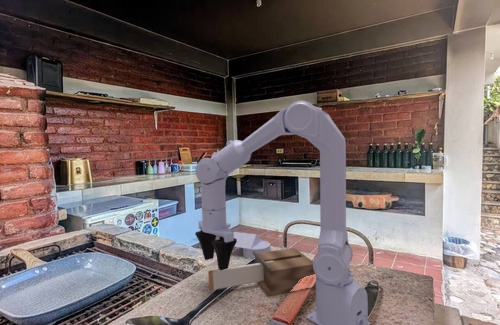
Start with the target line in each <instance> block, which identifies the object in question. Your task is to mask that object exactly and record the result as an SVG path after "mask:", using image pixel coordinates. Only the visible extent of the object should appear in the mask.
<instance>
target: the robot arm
mask: <svg viewBox="0 0 500 325" xmlns="http://www.w3.org/2000/svg"><path fill="white" fill-rule="evenodd" d="M287 135H288V136H290V135H297V136H299V137H301V138H303V139H305V140H308V142H309V143H311V144H312V145H313V146H314V147H315V148H317V149H318V151H319V185H320V186H319V194H320V196H319V198H320V199H319V200H320V204H319V205H320V207H319V208H320V209H319V210H320V215H319V218H320V219H319V220H320V222H319V225H320V226H319V227H320V231H319V235H318V236H319V237H318V241H317V252H316V255H315V257H314V259H313V260H312V261H313V269H314V272H315V274H316V287H315V310H314V311H312V312H311V313H309V314H308V315H306V319H307V320H309V321H310V322H312V323H314V324H316V325H370V324H371V322H370V321H368V320H369V316H368V314H369V312H368V311H369V310H368V309H369V306H368V304H369V303H368V301H369V299H368V292H367V290H366V289H365V287H363V286H361V285H360V284H359V283H358V282H356V281H355V280H354V274H353V273H352V271H351V269H350V264H351V261H352V260H353V256H354V254H353V249H352V247H351V245H350V243H349V234H348V231H347V166H346V165H347V142H346V138H345V136H344V135H343V133H342V132H341V130H340V129H339V128H338V126H337V125H336V123H335V122H334V120H332V117H331V116H330V114H328V113H327V112H326V111H324V110H323V109H321V108H319V107H317V106H315V105H313V104H312V103H310V102H307V101H304V100H298V101H295V102H293V103H291V104H290V105H289V106H288V107H287V108H286V107H285V108H283V109H281V110H280V111H278V112H277V113H276V115H274V116H273V117H272V118H270V119H269V120H268V121H267V122H265V123H264V124H263V125H262V126H260V127H259V128H258V129H257V130H255V131H254V132H252V133H251V134H250V135H249V136H247V137H246V138H245V139H244V140H239V139H235V140H229V141H227V142H226V146H224V147H223V148H222V149H220V150H219V151H215V152H213V153H212V154H211V157H210V158H208V157H207V158H206V157H203V158H201V159H200V161H198V163H197V164H196V166H195V176H196V178H197V180H198V181H199V182H200V192H201V194H200V195H201V216H202V217H201V220H199V221H198V229H199V231H198V230H197V231H195V233H194V235H195V237H196V238H197V239H198V242H199V245H200V247H201V250H202V255H203V258H204V260H205V261H209V260H212V259H214V257H215V254H216V262H217V263H216V264H217V266H218V269H219V270H224V269H228V268H229V266H230V262H231V261H230V260H231V256H232V252H233V250H234V248H235V247H234V246H235V244H236V243H237V239H235V238H234V231H232V230H231V229H230V228H231V223H229V222H227V208H226V207H227V205H226V201H227V200H226V181H227V178H228V177H229V175H230V174H232V173H233V172H235V171H236V170H237V169H240V168H241V167H242V166H243V165H245V164H247V163H248V162H249V161H250V160H251V157H252V154H253V152H255V151H257V150H258V149H260V148H262V147H264V146H265V145H267V144H268V143H270V142H271V141H273V140H275V139H277V138H278V137H280V136H287ZM217 237H218V239H216V238H217Z"/></svg>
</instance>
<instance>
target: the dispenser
mask: <svg viewBox="0 0 500 325" xmlns="http://www.w3.org/2000/svg"><path fill="white" fill-rule="evenodd" d="M253 255H254V256H255V260H254V264H255V263H261V264H262V265H263V266H264V281H260V282H256V283H257V285H258V286H259V287H260V289H261V290H262V291H263V292H264V293H265V295H266V296H267V298H269V297H273V296H278V295H284V294H288V293H291V292H290V291H291V290H292V289H293V287H294V286H295V285H296V284H297V283H298V281H299V280H300V279H302V278H304V277H306V276H310V275H313V274H315V272H314V269H313V261H314V260H311V259H310V258H309V257H307V256H306V255H304V254H303V253H302V252H301V251H299V250H297V249H296V248H294V247H292V248H284V249H278V250H270V252H263V253H256V252H255V251H253ZM268 261H272V262H268ZM314 288H315V289H316V283H315V285H314V287H313V288H312V289H314Z"/></svg>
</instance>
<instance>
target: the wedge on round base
mask: <svg viewBox="0 0 500 325" xmlns="http://www.w3.org/2000/svg"><path fill="white" fill-rule="evenodd" d="M233 233H234V238H235V239H237V243H236V244H235V246H234V248H242V255H244V256H245V257H247V258H246V259H248V258H250V259H249V260H252V259H254V258H255V256H254V255H253V251H255V252H256V253H263V252H270V251H271V243H270V242H269V241H267V240H263V239H262V238H260V237H259V236H258V235H257V234H256V233H247V232H239V231H233ZM244 256H243V257H244ZM245 257H244V258H245Z"/></svg>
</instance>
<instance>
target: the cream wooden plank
mask: <svg viewBox="0 0 500 325" xmlns="http://www.w3.org/2000/svg"><path fill="white" fill-rule="evenodd" d="M268 262H272V261H268ZM207 272H208V273H207V274H208V275H207V276H208V290H209V291H215V290H221V289H225V288H231V287H236V286H237V287H238V286H242V285H246V284H247V285H249V284H254V283H257V282H260V281H264V266H263V265H262V264H261V263H255V262H254V263H250V264H244V265H237V266H231V267H228V269H224V270H219V268H218V269H212V270H211V269H210V270H208V271H207Z"/></svg>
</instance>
